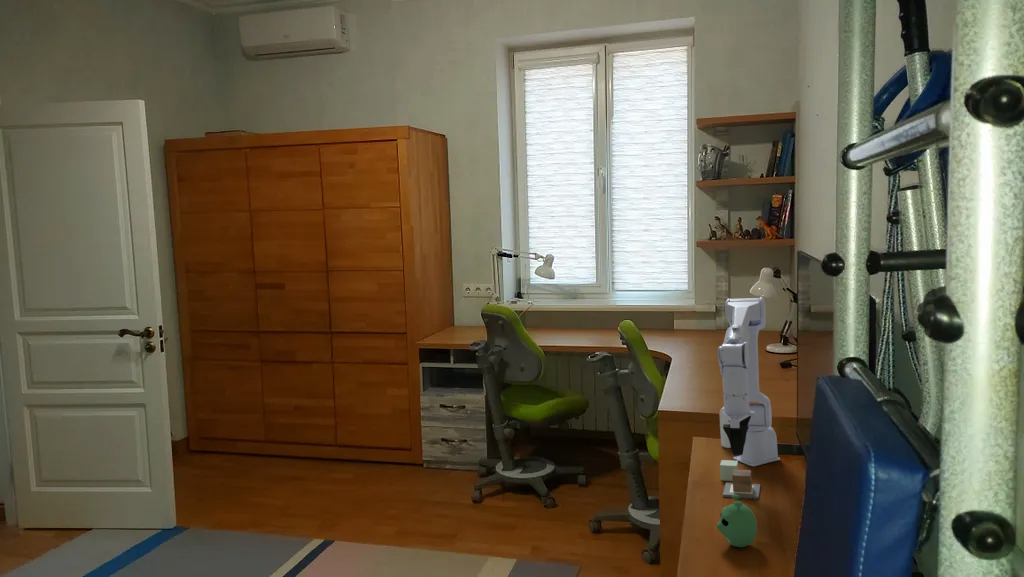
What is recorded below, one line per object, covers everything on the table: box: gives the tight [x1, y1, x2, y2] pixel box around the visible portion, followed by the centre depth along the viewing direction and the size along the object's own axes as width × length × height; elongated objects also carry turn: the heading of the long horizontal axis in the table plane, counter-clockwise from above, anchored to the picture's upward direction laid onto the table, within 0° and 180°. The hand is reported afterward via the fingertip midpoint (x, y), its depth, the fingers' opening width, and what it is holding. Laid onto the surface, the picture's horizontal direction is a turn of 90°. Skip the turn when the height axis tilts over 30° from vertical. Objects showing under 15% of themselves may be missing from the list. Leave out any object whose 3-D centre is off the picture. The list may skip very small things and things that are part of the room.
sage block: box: [719, 459, 739, 482], centre depth 177 cm, size 4×4×4 cm
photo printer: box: [718, 406, 731, 449], centre depth 203 cm, size 10×4×12 cm, turn 123°
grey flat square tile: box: [722, 482, 761, 500], centre depth 167 cm, size 8×8×1 cm
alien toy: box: [716, 495, 758, 548], centre depth 139 cm, size 7×8×10 cm
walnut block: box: [732, 469, 753, 493], centre depth 167 cm, size 4×4×4 cm
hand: (739, 449), depth 167 cm, fingers open, 7 cm apart
